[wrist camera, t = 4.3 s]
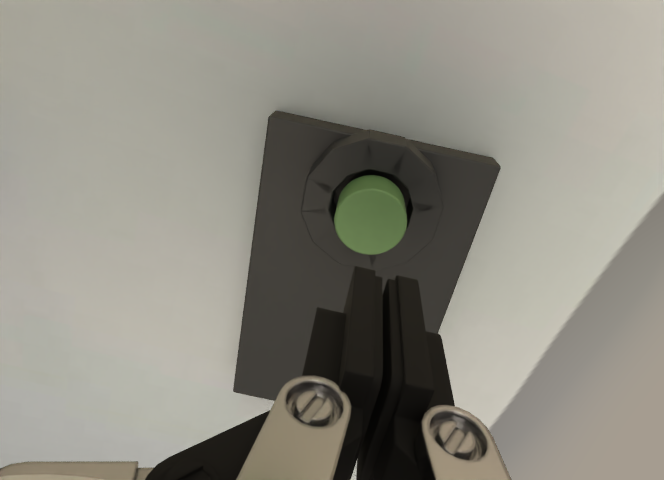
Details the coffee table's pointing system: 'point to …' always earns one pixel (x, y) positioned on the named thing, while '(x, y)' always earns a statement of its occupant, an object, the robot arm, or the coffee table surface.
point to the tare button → (370, 215)
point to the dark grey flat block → (326, 247)
